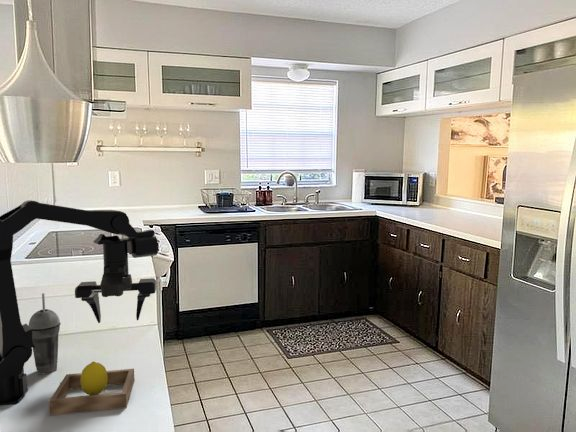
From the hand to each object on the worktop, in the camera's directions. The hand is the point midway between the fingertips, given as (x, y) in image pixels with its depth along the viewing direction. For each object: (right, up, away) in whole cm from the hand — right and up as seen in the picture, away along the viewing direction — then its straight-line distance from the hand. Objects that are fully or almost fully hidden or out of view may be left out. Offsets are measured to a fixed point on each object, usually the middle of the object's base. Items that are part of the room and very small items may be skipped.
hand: (118, 321), depth 117 cm
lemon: (0, -14, -15) cm, 20 cm away
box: (0, -13, -15) cm, 20 cm away
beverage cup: (-18, -13, 0) cm, 22 cm away
